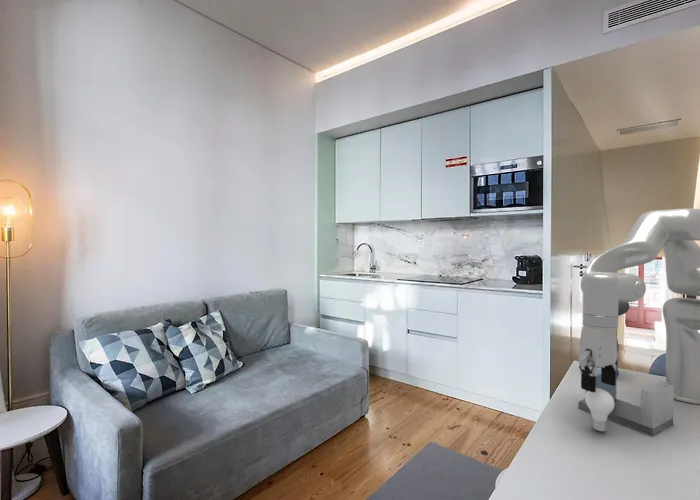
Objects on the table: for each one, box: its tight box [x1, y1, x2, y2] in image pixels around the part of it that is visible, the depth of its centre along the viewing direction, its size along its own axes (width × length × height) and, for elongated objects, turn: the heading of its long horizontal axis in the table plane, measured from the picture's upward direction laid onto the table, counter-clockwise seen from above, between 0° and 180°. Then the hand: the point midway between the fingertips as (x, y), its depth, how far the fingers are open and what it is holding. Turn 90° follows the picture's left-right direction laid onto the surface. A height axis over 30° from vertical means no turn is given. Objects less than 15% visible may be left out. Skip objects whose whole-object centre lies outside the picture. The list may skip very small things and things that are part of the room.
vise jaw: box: [585, 368, 617, 399], centre depth 106 cm, size 12×2×9 cm, turn 119°
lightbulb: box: [584, 388, 615, 433], centre depth 92 cm, size 6×6×11 cm
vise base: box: [577, 381, 675, 437], centre depth 101 cm, size 12×18×11 cm, turn 29°
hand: (598, 387), depth 92 cm, fingers open, 9 cm apart
